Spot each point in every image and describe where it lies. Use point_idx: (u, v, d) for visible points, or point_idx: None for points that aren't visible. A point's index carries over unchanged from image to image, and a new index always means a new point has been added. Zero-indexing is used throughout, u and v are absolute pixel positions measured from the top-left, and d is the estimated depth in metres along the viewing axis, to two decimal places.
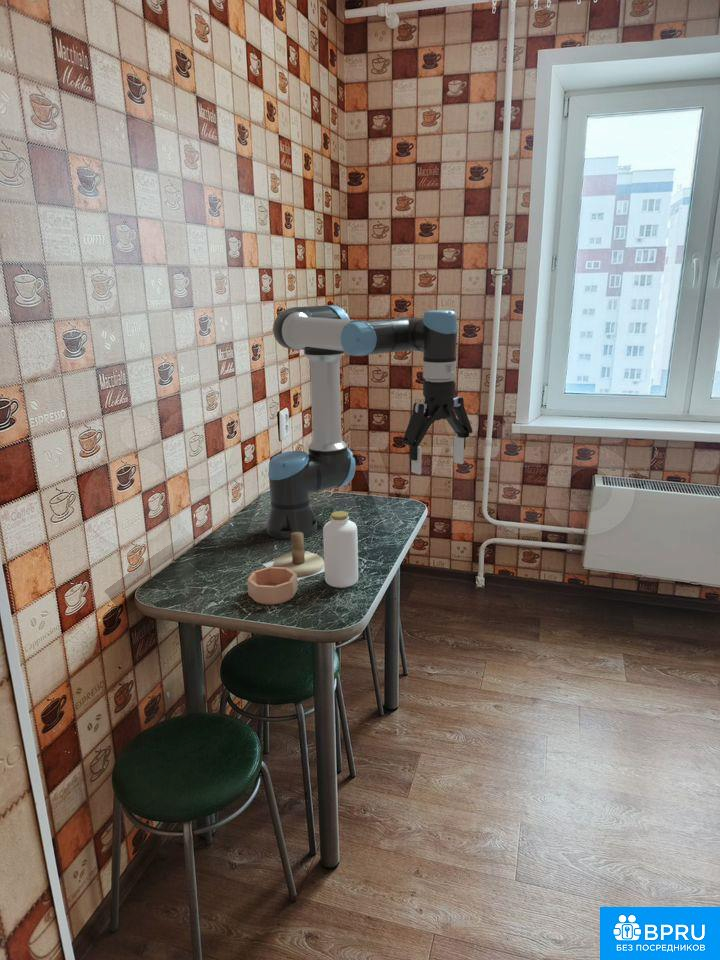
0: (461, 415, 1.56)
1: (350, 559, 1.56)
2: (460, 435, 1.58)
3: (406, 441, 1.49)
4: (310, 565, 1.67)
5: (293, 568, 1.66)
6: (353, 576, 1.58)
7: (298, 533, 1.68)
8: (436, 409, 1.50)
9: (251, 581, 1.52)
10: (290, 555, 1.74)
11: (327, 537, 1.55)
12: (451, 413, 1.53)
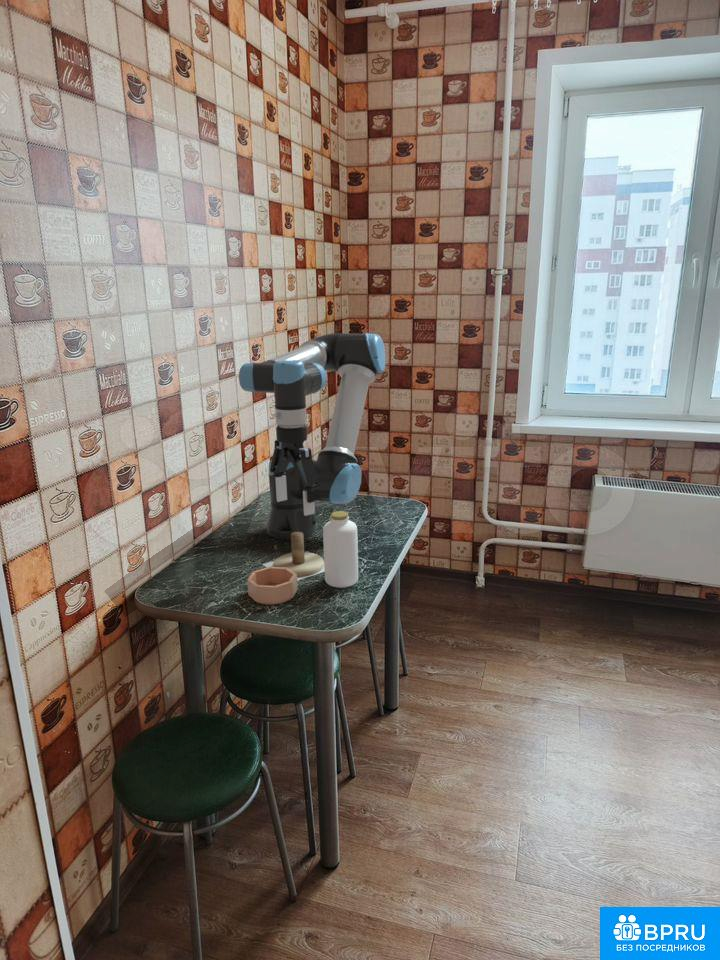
0: None
1: (350, 559, 1.56)
2: None
3: None
4: (310, 565, 1.67)
5: (293, 568, 1.66)
6: (353, 576, 1.58)
7: (298, 533, 1.68)
8: None
9: (251, 581, 1.52)
10: (290, 555, 1.74)
11: (327, 537, 1.55)
12: (292, 459, 1.58)
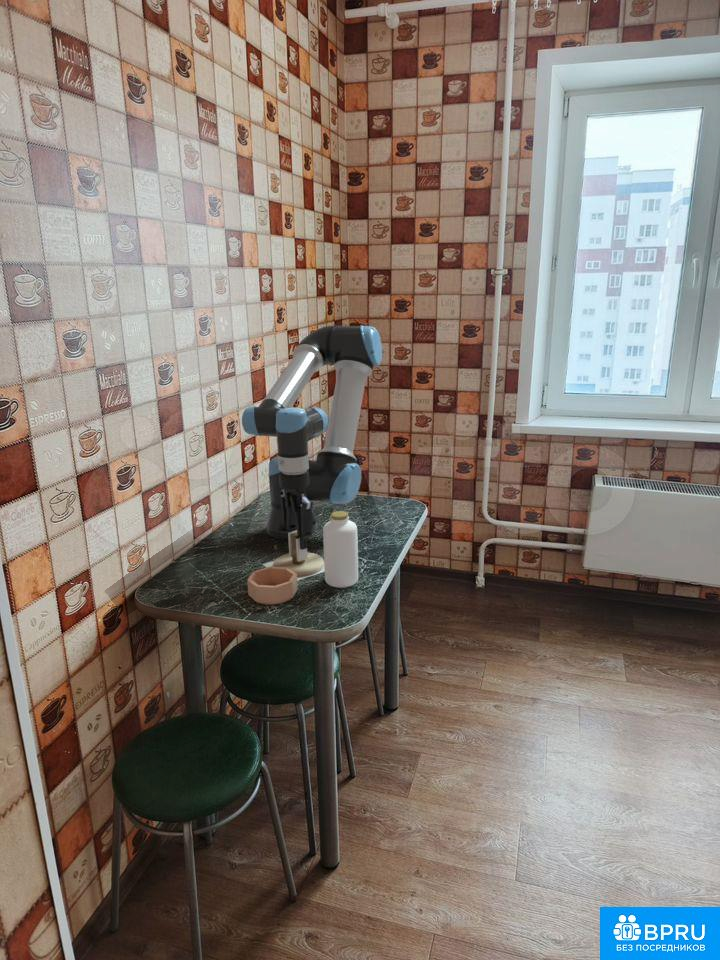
0: None
1: (350, 559, 1.56)
2: None
3: None
4: (310, 565, 1.67)
5: (293, 567, 1.66)
6: (353, 576, 1.58)
7: None
8: None
9: (251, 581, 1.52)
10: None
11: (327, 537, 1.55)
12: (292, 505, 1.63)
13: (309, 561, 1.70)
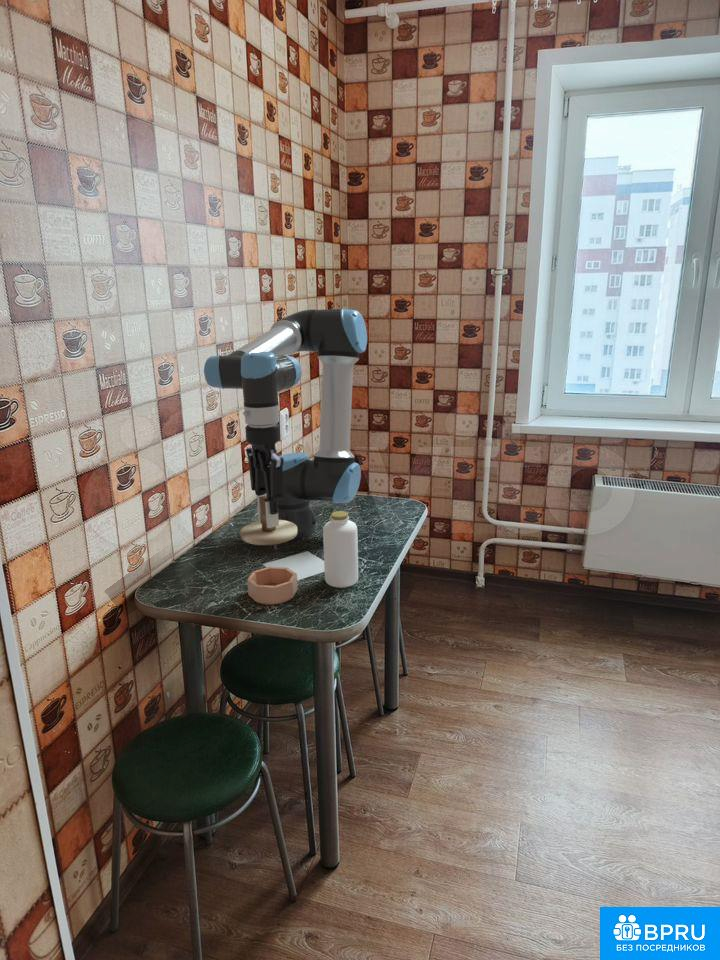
0: None
1: (350, 559, 1.56)
2: None
3: None
4: (281, 533, 1.48)
5: (262, 535, 1.47)
6: (353, 576, 1.58)
7: None
8: None
9: (251, 581, 1.52)
10: None
11: (327, 537, 1.55)
12: (261, 463, 1.43)
13: (281, 528, 1.50)
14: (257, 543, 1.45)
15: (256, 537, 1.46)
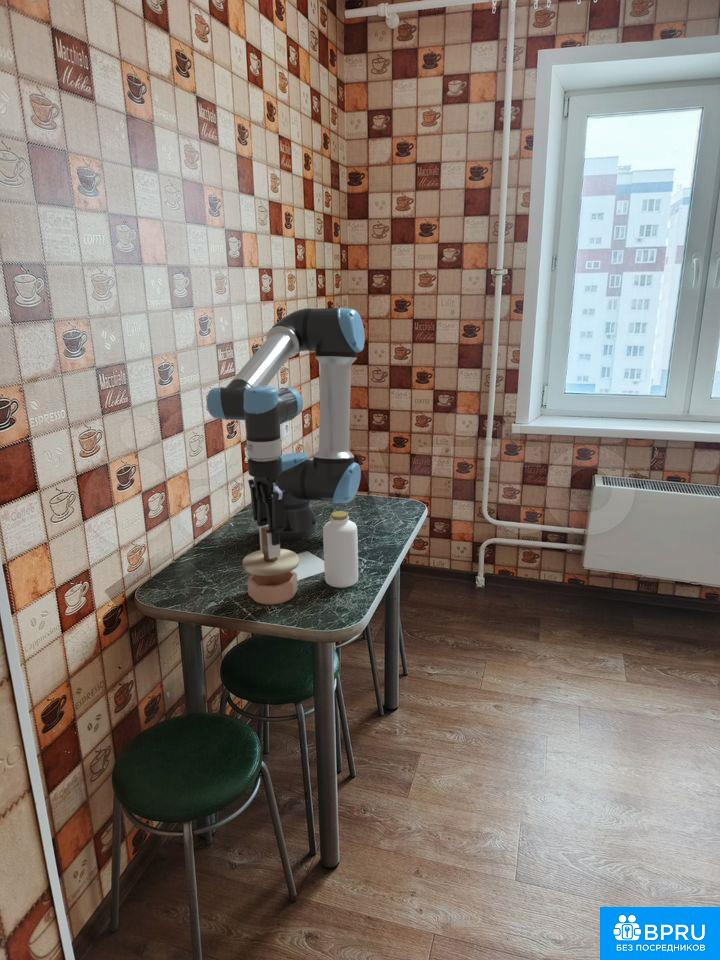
0: None
1: (350, 559, 1.56)
2: None
3: None
4: (283, 563, 1.50)
5: (263, 565, 1.49)
6: (353, 576, 1.58)
7: None
8: None
9: (251, 581, 1.52)
10: None
11: (327, 537, 1.55)
12: (263, 496, 1.46)
13: (282, 558, 1.52)
14: (259, 574, 1.47)
15: (258, 568, 1.48)
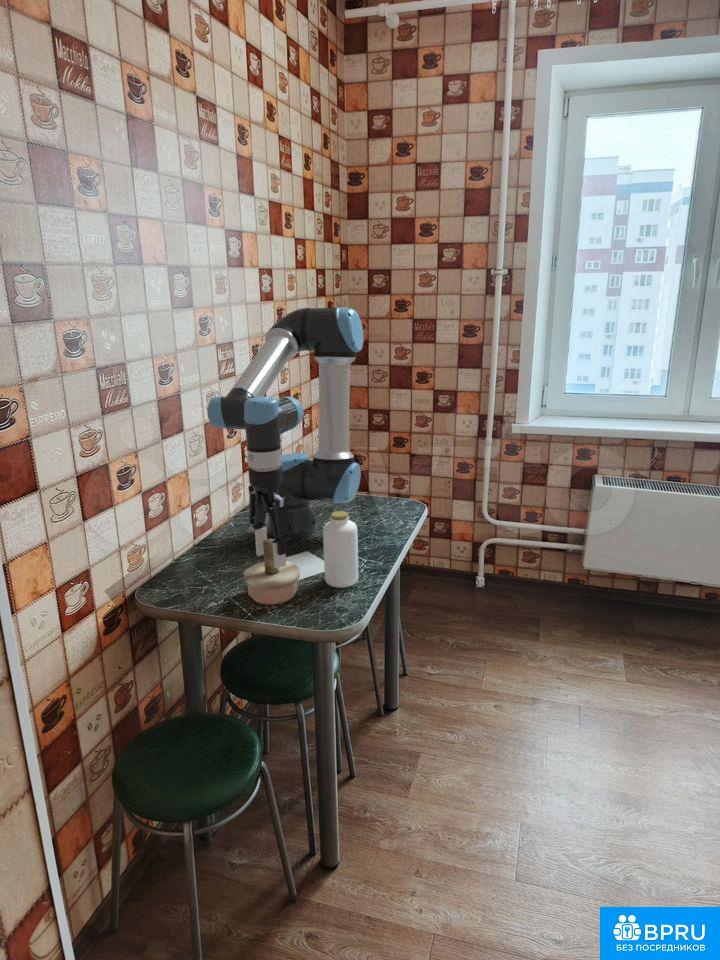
0: None
1: (350, 559, 1.56)
2: None
3: None
4: (284, 576, 1.51)
5: (265, 579, 1.50)
6: (353, 576, 1.58)
7: (271, 540, 1.52)
8: None
9: None
10: (263, 564, 1.58)
11: (327, 537, 1.55)
12: (264, 505, 1.46)
13: (283, 571, 1.54)
14: (260, 587, 1.48)
15: (259, 581, 1.49)
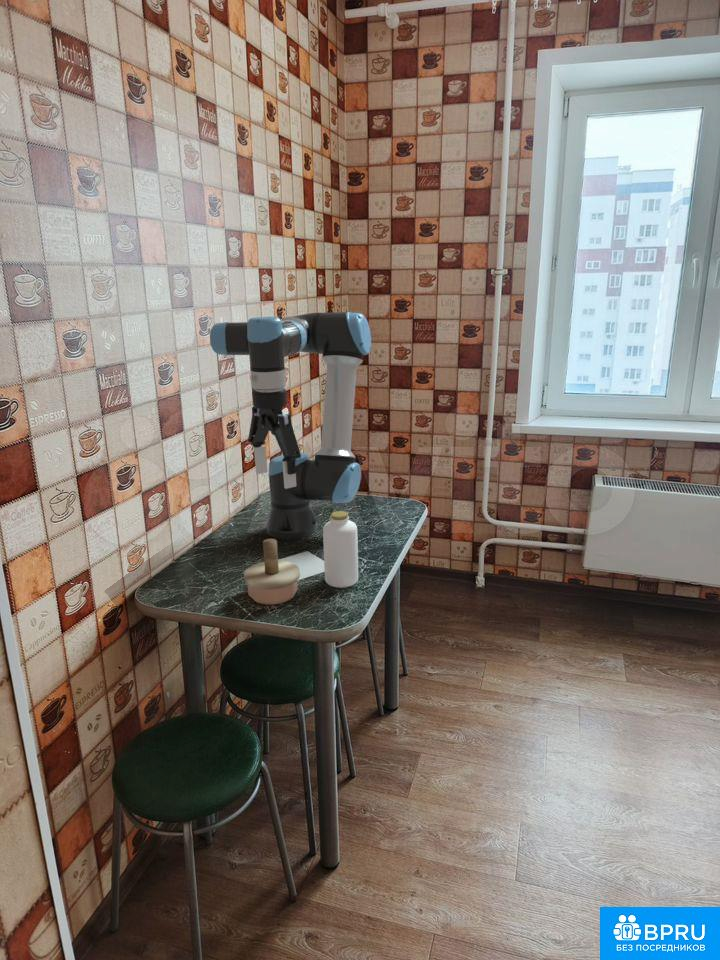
0: None
1: (350, 559, 1.56)
2: None
3: None
4: (284, 576, 1.51)
5: (265, 579, 1.50)
6: (353, 576, 1.58)
7: (271, 540, 1.52)
8: None
9: None
10: (263, 564, 1.58)
11: (327, 537, 1.55)
12: (270, 427, 1.44)
13: (283, 571, 1.54)
14: (260, 587, 1.48)
15: (259, 581, 1.49)
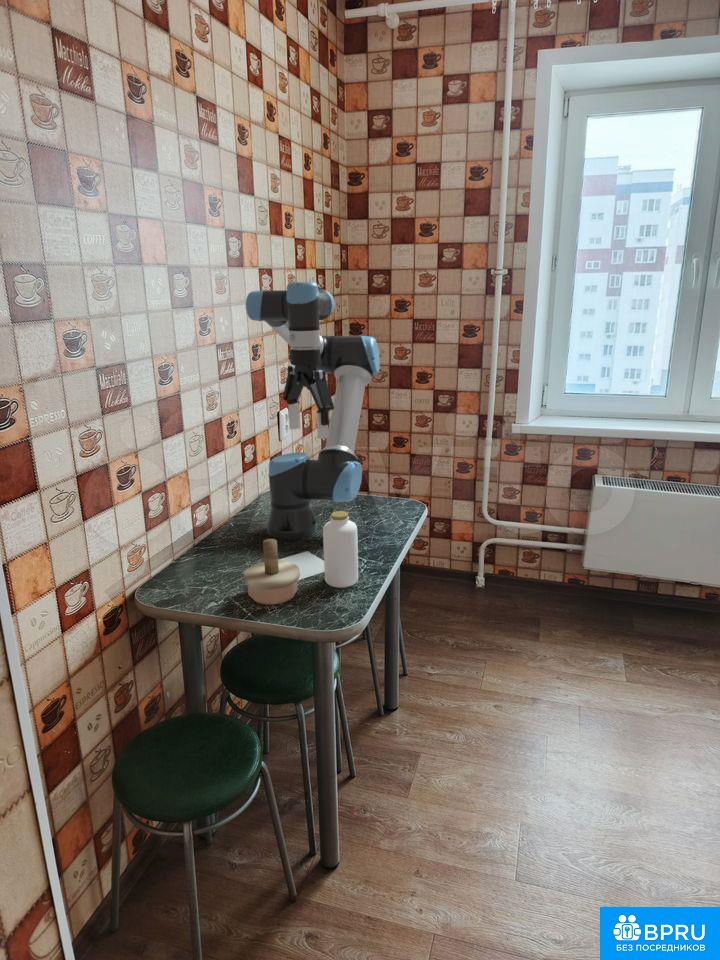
0: None
1: (350, 559, 1.56)
2: None
3: None
4: (284, 576, 1.51)
5: (265, 579, 1.50)
6: (353, 576, 1.58)
7: (271, 540, 1.52)
8: None
9: None
10: (263, 564, 1.58)
11: (327, 537, 1.55)
12: (305, 382, 1.58)
13: (283, 571, 1.54)
14: (260, 587, 1.48)
15: (259, 581, 1.49)
